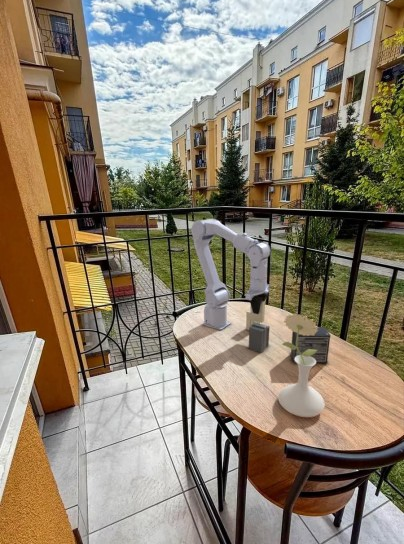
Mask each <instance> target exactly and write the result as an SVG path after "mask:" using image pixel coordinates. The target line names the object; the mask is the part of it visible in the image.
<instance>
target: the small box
mask: <svg viewBox="0 0 404 544" xmlns="http://www.w3.org/2000/svg"><path fill="white" fill-rule="evenodd" d="M316 327H317V330H318V331H317V332H316V333H315V335H309V336H307V335H305V336H304V335H301V334H299V335H298V340H297V347H298V349H299V351H300V353H301V354H302V353H304V352H305V351H306V350H308V349H313V350H317V352H316V353H315V354H313V355H311V357H313V358H314V359H315V360H316V364H317V365H327V364H328V362H329V361H328V359H329V350H330V344H331V343H330V341H331V334H330V332H329V331H328V330H327V328H326V326H316ZM296 338H297V332H293V331H292V334H291V344H293V345H295V346H296ZM298 355H300V354H299V352H298V350H297V348H296V349H295V350H292V349H290V356H291V359H292V361H293V364H297V363H296V362H295V360H294V359H295V357H296V356H298ZM316 364H315V365H316Z"/></svg>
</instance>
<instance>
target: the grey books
mask: <svg viewBox="0 0 404 544" xmlns="http://www.w3.org/2000/svg"><path fill="white" fill-rule="evenodd" d="M269 343H270V325H266V324H263V323H260V324H259V323H253V324H252V326H251V327H249V330H248V349H249V350H252V351H254V352H258V353H263V352H264V351H265V350H266V349H267V348H269Z"/></svg>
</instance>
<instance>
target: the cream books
mask: <svg viewBox="0 0 404 544" xmlns="http://www.w3.org/2000/svg"><path fill="white" fill-rule="evenodd" d="M245 313H246V314H245V315H246V319H245V321H246V323H245V330H247V331H249V327H251V326H252V324H253V323H259V324H261V322H257V321H253V320H250V309H248V310H247V311H246V312H245Z"/></svg>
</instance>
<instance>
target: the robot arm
mask: <svg viewBox="0 0 404 544" xmlns="http://www.w3.org/2000/svg"><path fill="white" fill-rule="evenodd" d="M190 232H191V235H192V238H193V247H194V249H195V252H196V255H197V258H198V262H199V264H200V267H201V270H202V274H203V276H204V280H205V283H206V285H207V286H206V288H205V290H204V295H205V303H206V304H205V305H204V308H203V321H204V322H203V324H202V326H206V327H209V328H213V329H216V330H219V331H222V330H224V329H225V328H226V327H228V326H229V325H231V323H232V322H231V321H228V302H229V301H230V299H231V292H230V291H229V289H228V288H227V285H226V284H225V283H223V282H222V281H221V280H220V276H219V273H218V271H217V267H216V265H215V262H214V258H213V255H212V252H211V249H210V246H209V244H210V242H211V240H212V239H213V238H214V237H215V236H216V235H217V236H219V237H220V238H223V239H225V240H227V241H228V242H230V243H232V246H233V247H234V248H235V249H237V250H238V251H239V252H242V253H243V254H245V255H246V256H247V258H248V260H249V264H250V267H249V269H250V272H249V274H250V275H249V277H250V278H249V289H248V290H247V293H245V300H247V301H249V303H250V307H252V311H253V313H255V314H259V311H260V305H261V302H262V301H265V302H266V300H267V298H268V296H269V292H270V284H268V283H267V277H268V275H267V274H268V257H270V256H271V252H272V251H271V250H272V249H271V246H270V245H269V244H268V243H267V242H265V241H261V242H259V240H258V239H254V238H252V237H250V236H248V235H249V234H248V233H246V232H239V233H236V232H235V231H234V230H232V229H230V227H228V226H226V225H224V224H222V223H221V222H220V220H217V219H216V218H208V219H202V220H200V219H199V220H198V219H197V220H195V221H193V223H192V225H191V228H190Z"/></svg>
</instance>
